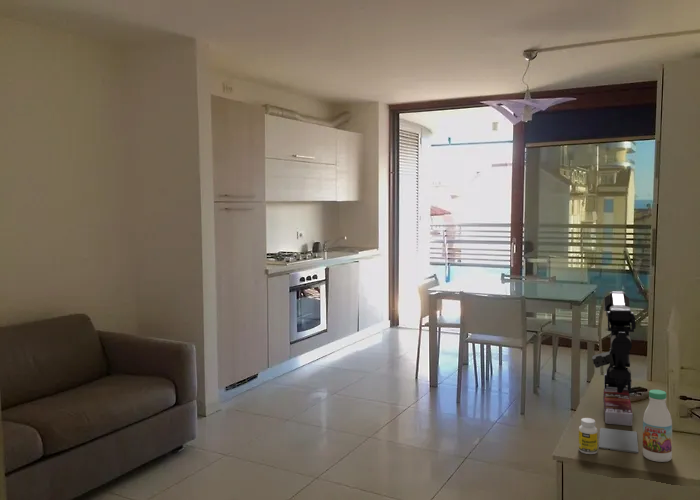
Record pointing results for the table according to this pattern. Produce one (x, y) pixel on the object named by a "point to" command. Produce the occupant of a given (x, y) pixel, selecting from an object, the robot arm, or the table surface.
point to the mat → (618, 440)
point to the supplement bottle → (588, 436)
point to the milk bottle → (657, 428)
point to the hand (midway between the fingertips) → (619, 392)
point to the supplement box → (617, 407)
